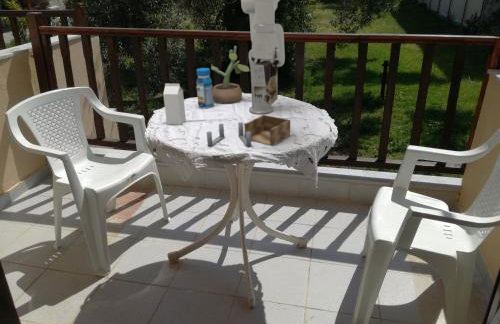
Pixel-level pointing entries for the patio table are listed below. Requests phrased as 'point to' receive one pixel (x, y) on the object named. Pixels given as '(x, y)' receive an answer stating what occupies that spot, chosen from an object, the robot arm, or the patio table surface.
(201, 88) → the beverage bottle
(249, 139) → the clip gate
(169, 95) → the milk carton
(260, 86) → the coffee box
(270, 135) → the wooden tray
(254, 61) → the robot arm
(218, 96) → the potted plant
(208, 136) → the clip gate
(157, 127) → the patio table surface
